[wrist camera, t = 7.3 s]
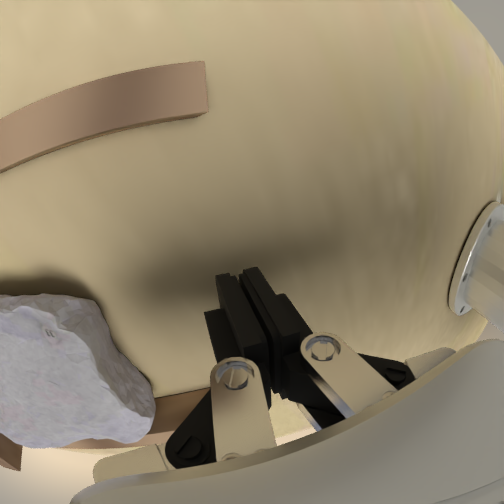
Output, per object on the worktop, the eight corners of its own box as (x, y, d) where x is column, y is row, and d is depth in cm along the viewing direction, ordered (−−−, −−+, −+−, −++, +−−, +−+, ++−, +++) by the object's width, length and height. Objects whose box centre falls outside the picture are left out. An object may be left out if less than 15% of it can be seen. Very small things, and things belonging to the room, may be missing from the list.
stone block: (-43, 291, 8) (26, 413, 11) (-83, 321, 4) (10, 459, 7) (95, 236, 11) (161, 393, 14) (61, 262, 7) (169, 453, 10)
